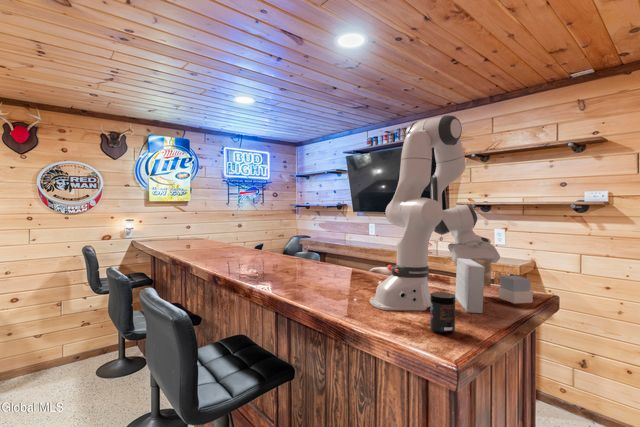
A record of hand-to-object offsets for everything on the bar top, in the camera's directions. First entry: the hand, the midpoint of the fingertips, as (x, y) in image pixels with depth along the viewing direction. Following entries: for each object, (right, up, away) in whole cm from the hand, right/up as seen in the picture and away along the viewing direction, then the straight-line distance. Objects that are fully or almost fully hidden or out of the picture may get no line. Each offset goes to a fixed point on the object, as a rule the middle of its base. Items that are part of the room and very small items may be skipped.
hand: (482, 270), depth 134 cm
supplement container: (-30, -11, -38) cm, 50 cm away
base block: (+10, -11, -4) cm, 16 cm away
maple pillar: (0, -6, +1) cm, 6 cm away
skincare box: (-11, -11, -11) cm, 19 cm away
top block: (+10, -7, -4) cm, 13 cm away
